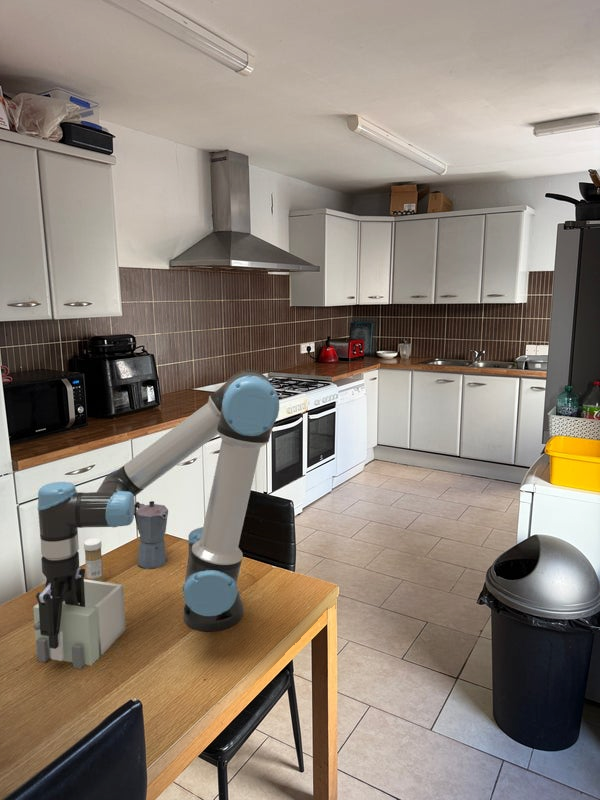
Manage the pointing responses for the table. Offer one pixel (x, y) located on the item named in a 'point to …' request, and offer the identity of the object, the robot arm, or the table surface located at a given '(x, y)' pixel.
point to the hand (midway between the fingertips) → (65, 651)
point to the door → (74, 631)
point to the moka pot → (151, 534)
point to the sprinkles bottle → (93, 559)
